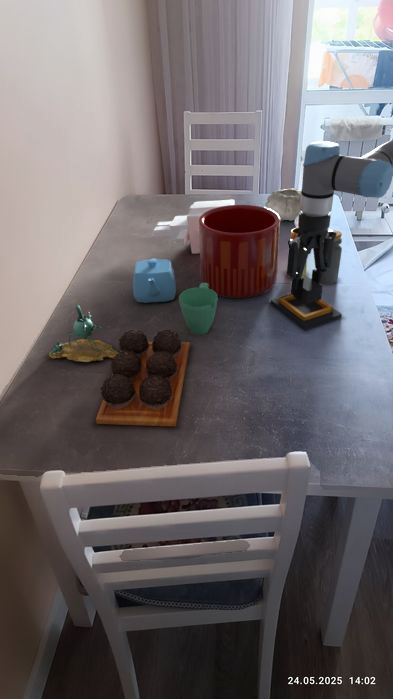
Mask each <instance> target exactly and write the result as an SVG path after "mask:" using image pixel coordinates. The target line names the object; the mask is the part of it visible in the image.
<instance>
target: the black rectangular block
mask: <svg viewBox="0 0 393 699" xmlns="http://www.w3.org/2000/svg"><path fill="white" fill-rule="evenodd" d="M303 278H304V281H303V289H302V298H301V301H302V302H304V303H305V304H309V303H312V302H315V301H318V300H322V297H323V290H324V289H323V288H324V286H323V284H321V283H320V284H318V283H317V282H315V281H314V280H312V277H309V276H308V275H306V276H304V277H303ZM292 283H293V279H291V282H290V284H291V285H290V294H293V292H294V288H293V287H292Z"/></svg>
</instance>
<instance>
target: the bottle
mask: <svg viewBox="0 0 393 699" xmlns="http://www.w3.org/2000/svg"><path fill="white" fill-rule="evenodd" d="M331 230H332V231H334V232H336V237H335V239H334V243H333V250H332V258H331V266H330V267H329V268H326V270H327V271H326V273H323V276H322V281H321V282H320V284H325V285H332V284H333V285H334V284H336V283H337V282H338V278H339V271H340V264H341V259H342V253H343V252H342V251H343V247H342V246H341V244H342V243H343V239H342V235H343V233H342V231H341V230H336V229H331ZM323 242H324V241H323Z"/></svg>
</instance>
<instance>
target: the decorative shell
mask: <svg viewBox="0 0 393 699" xmlns="http://www.w3.org/2000/svg"><path fill="white" fill-rule="evenodd" d="M301 191H302V190H299V189H297V188H290V187H289V188H287V189H286V188H284V189H278V190H275V191H272V192H271V194H269V195H268V196H267V199H266V200H265V203H264V208H267V209H270V210H272V211H274V212H275V213H277V214H278V215H279V217H280V221H283V220H289V221H295V218H296V217H297V216H298V215H299V213H300V211H301V210H300V201H301Z"/></svg>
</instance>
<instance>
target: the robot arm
mask: <svg viewBox="0 0 393 699" xmlns="http://www.w3.org/2000/svg"><path fill="white" fill-rule="evenodd" d="M340 148H341V146H340V145H339V144H338V143H335V142H333V141H314V142H311V143H309V144H308V145H307V146H306V148H305V154H304V159H303V163H302V166H303V167H302V168H303V169H302V170H303V171H302V184H301V190H300V191H301V201H300V210H301V211H300V213H299V222H298V226H299V233H298V235H297V238H295V239H294V240H291V238H289V239H288V240H287V246H288V254H287V266H286V276H287V275H289V276H290V277H292V278H291V279H292V280H293V283H292V287H293V288H294V292H293V297H295V298H296V299H297V300H299V301H300V300H301V298H302V289H303V281H304V278H303V277H301V276H302V273H303V270H304V267H305V264H306V261H308V258H309V255H310V254H311V252H313V258H314V259H313V260H314V269H311V270H312V271H311V279H312V280H314V281H315V282H317V283H318V284H320V285H321V281H322V276H323V273H326V271H327V270H326V268H329V267H330V266H331V258H332V250H333V243H334V239H335V237H336V232H334V231H332V230H333V229H330V224H331V218H332V217H331V216H332V214H331V212H332V209H333V202H334V195H335V191H336V192H340V193H341V192H342V193H345V194H350V195H357V196H362V197H365V198H376V199H380V198H383V197H384V196H385V195H386V194H387V193H388V190H390V188H391V184H392V181H393V139H391V140H389V141H387V142H385V143H382V144H380V145H379V146H377V147H375V149H373V150H371V151H369V152H368V153H366V154H364V155H362V156H361V157H357V156H347V155H343V154H340V153H341V150H340ZM323 241H324V242H323ZM299 243H300V245H299ZM298 249H299V250H298ZM312 250H313V251H312ZM289 276H288V277H289ZM290 277H289V278H290Z"/></svg>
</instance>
